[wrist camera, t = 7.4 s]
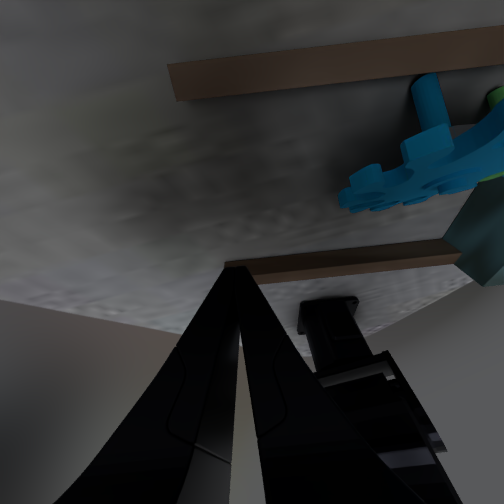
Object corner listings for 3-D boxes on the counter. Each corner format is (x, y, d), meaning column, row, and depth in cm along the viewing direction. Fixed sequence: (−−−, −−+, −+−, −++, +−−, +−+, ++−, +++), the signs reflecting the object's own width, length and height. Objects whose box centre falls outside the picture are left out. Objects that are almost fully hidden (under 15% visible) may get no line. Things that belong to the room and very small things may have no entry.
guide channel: (456, 247, 18) (509, 283, 15) (227, 272, 18) (224, 314, 15) (627, 15, 9) (865, -33, 6) (178, 67, 9) (143, 52, 6)
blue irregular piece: (313, 228, 14) (528, 111, 4) (298, 150, 14) (452, -124, 4) (445, 209, 15) (839, 91, 5) (426, 139, 16) (753, -83, 6)
